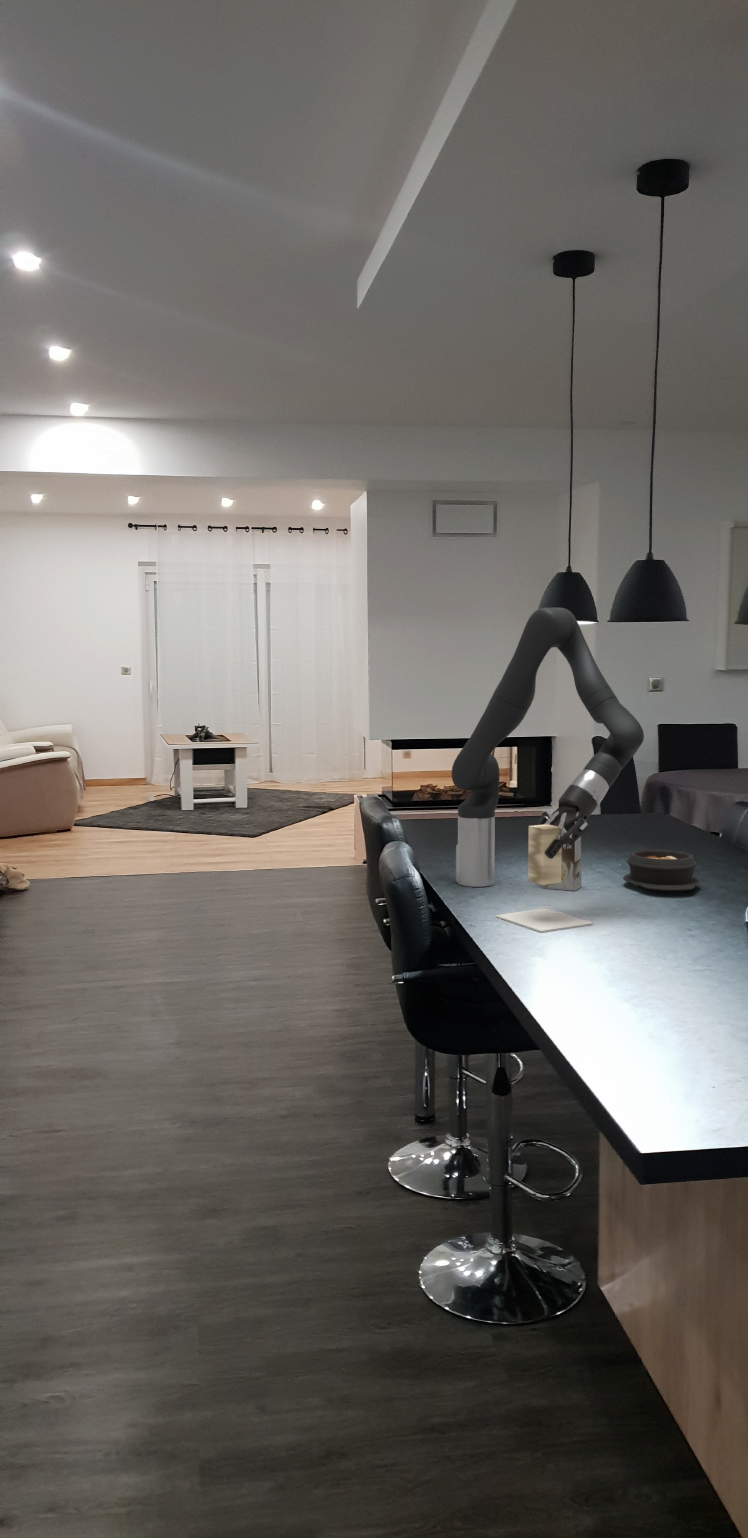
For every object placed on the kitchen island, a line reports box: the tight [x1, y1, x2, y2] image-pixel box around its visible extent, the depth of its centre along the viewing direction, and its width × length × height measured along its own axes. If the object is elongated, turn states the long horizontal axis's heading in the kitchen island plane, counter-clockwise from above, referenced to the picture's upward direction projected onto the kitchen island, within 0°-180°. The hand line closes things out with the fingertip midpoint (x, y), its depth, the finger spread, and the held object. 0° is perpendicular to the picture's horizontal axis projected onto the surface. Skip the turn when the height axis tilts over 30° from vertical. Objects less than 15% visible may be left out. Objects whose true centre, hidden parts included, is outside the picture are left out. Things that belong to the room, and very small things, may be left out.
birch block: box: [527, 824, 562, 886], centre depth 228 cm, size 5×5×12 cm
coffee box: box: [540, 833, 583, 892], centre depth 264 cm, size 9×6×16 cm
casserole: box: [622, 849, 701, 892], centre depth 265 cm, size 25×19×8 cm
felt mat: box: [495, 907, 594, 934], centre depth 230 cm, size 16×14×1 cm
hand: (539, 854), depth 228 cm, fingers closed on birch block, 5 cm apart
